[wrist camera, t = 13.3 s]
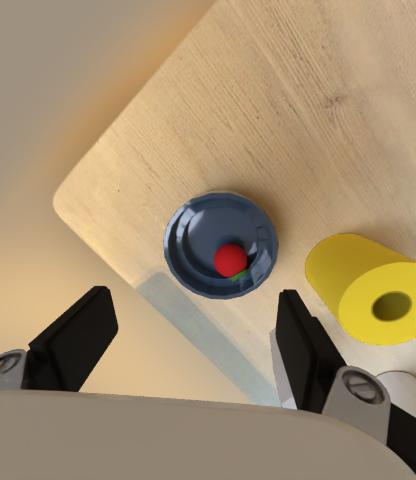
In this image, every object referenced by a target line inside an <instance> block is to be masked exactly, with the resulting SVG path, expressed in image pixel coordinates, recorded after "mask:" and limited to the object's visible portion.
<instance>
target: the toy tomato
mask: <svg viewBox="0 0 416 480" xmlns="http://www.w3.org/2000/svg"><path fill="white" fill-rule="evenodd" d="M214 265H215V268H216V270H217V271H218V272H219V273H220V274H221V275H223V276H225V277H232V278H231V281H232V282H235V281H236V280H238V279H240V278H242V277H243V276H245V275H246V274H248V273H249V271H248V270H247V269H245V268H246V266H247V256H246V253H245V251H244V250H243V249H242V248H241V247H239V246H238V245H235V244H226V245H223V246H221V247H220V248H219V249H218V250H217V251H216V253H215V255H214Z"/></svg>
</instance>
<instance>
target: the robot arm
mask: <svg viewBox="0 0 416 480" xmlns="http://www.w3.org/2000/svg"><path fill="white" fill-rule="evenodd" d="M117 332H118V323H117V319H116V315H115V310H114V305H113V301H112V297H111V293H110V290H109V289H108V288H107V287H106V286H94V287H93V288H92V289H90V290H89V291H88V292H87V293H86V294H85V295H84V296H83V297H82V298H80V299H79V300H78V301H77V302H76V303H75V304H74V305H72V306H71V307H70V308H69V309H68V310H67V311H66V312H64V313H63V314H62V315H61V316H60V317H59V318H57V319H56V321H54V322H53V323H52V324H51V325H50V326H49V327H47V328H46V329H45V330H44V331H43V332H42V333H40V334H39V335H38V336H37V337H36V338H35V339H34V340H33V341H31V342H30V343H29V344H28V345H29V347H30V350H29V351H28V352H26V351H25V350H22V349H16V350H12V351H8V352H5V353H3V354H1V355H0V480H416V417H414V416H412V415H411V414H409V413H408V412H406V411H404V410H403V409H401V408H400V407H398V406H397V405H395V404H393V403H392V402H391V400H390V395H389V393H388V391H387V389H386V388H385V386H384V385H383V384H382V383H381V382H380V381H379V380H378V379H377V378H376V377H375V376H373V375H372V374H370V373H369V372H367V371H365V370H363V369H361V368H358V367H354V366H347V364H346V363H345V361H344V359H343V358H342V356H341V355H340V353H339V351H338V350H337V348H336V347H335V345H334V343H333V342H332V340H331V339H330V337H329V336H328V334H327V332H326V331H325V329H324V328H323V326H322V324H321V323H320V321H319V320H318V319H317V317H312V316H311V314H310V313H309V311H308V309H307V308H306V306H305V304H304V303H303V301H302V299H301V298H300V296H299V294H298V293H297V291H296V290H286V289H284V290H283V292H280V294H279V303H278V312H277V322H276V331H275V336H276V341H277V345H278V348H279V351H280V354H281V358H282V361H283V364H284V368H285V371H286V374H287V378H288V381H289V384H290V387H291V391H292V394H293V397H294V401H295V404H296V407H297V410H296V409H289V408H282V407H271V406H261V405H250V404H239V403H225V402H213V401H199V400H186V399H171V398H157V397H144V396H129V395H114V394H97V393H82V392H78V391H79V390H80V388H81V387H82V385H83V384H84V382H85V381H86V379H87V378H88V376H89V374H90V373H91V372H92V370H93V369H94V367H95V366H96V364H97V363H98V361H99V360H100V358H101V357H102V355H103V354H104V352H105V351H106V349H107V348H108V346H109V345H110V343H111V342H112V340H113V339H114V337H115V336H116V334H117Z"/></svg>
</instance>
